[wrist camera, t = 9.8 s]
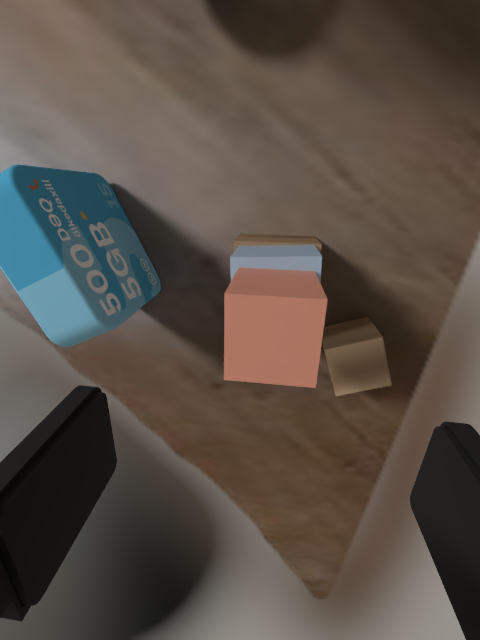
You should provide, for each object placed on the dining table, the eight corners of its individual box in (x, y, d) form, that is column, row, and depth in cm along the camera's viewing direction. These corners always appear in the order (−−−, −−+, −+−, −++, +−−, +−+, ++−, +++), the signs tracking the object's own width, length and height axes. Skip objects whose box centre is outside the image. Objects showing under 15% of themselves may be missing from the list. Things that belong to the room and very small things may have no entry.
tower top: (238, 245, 25) (229, 257, 21) (314, 244, 25) (322, 256, 20) (241, 315, 28) (233, 339, 23) (310, 315, 27) (316, 340, 22)
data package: (165, 288, 33) (107, 335, 22) (130, 303, 34) (58, 355, 23) (105, 173, 29) (-1, 160, 18) (68, 194, 30) (-53, 194, 19)
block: (317, 328, 33) (324, 350, 28) (367, 316, 31) (382, 337, 27) (328, 368, 34) (336, 396, 30) (376, 358, 33) (391, 385, 28)
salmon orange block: (239, 267, 21) (224, 293, 16) (314, 271, 21) (327, 299, 15) (237, 335, 23) (223, 379, 17) (307, 340, 22) (315, 387, 17)
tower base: (240, 233, 30) (233, 240, 25) (315, 236, 29) (321, 244, 25) (239, 303, 33) (232, 320, 28) (307, 307, 32) (311, 326, 27)
